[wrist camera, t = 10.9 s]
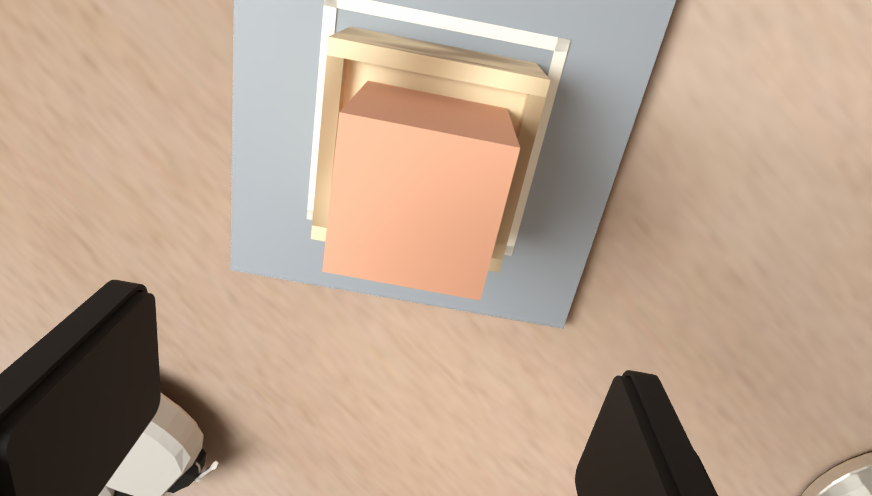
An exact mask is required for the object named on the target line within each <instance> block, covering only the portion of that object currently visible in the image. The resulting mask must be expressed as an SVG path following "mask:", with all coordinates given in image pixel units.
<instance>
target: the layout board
mask: <svg viewBox="0 0 872 496" xmlns="http://www.w3.org/2000/svg"><path fill="white" fill-rule="evenodd" d="M675 2H676V0H234V40H233V119H232V198H231V270H232V271H238V272H243V273H249V274H255V275H260V276H266V277H272V278H277V279H283V280H289V281H295V282H300V283H306V284H312V285H317V286H323V287H329V288H334V289H340V290H346V291H352V292H357V293H363V294H369V295H374V296H380V297H386V298H391V299H397V300H403V301H409V302H414V303H420V304H426V305H431V306H437V307H443V308H448V309H454V310H460V311H466V312H471V313H477V314H483V315H488V316H494V317H500V318H505V319H511V320H517V321H523V322H528V323H534V324H540V325H545V326H551V327H557V328H562V329H563V328H564V325H565V322H566V319H567V316H568V313H569V310H570V307H571V304H572V302H573V299H574V296H575V293H576V290H577V287H578V284H579V281H580V278H581V275H582V272H583V270H584V267H585V264H586V261H587V258H588V255H589V252H590V249H591V246H592V243H593V240H594V238H595V235H596V232H597V229H598V226H599V223H600V220H601V217H602V214H603V211H604V209H605V206H606V203H607V200H608V197H609V194H610V191H611V188H612V185H613V182H614V179H615V177H616V174H617V171H618V168H619V165H620V162H621V159H622V156H623V153H624V150H625V147H626V145H627V142H628V139H629V136H630V133H631V130H632V127H633V124H634V121H635V118H636V115H637V113H638V110H639V107H640V104H641V101H642V98H643V95H644V92H645V89H646V86H647V84H648V81H649V78H650V75H651V72H652V69H653V66H654V63H655V60H656V57H657V54H658V52H659V49H660V46H661V43H662V40H663V37H664V34H665V31H666V28H667V25H668V22H669V20H670V17H671V14H672V11H673V8H674V5H675ZM348 27H355V28H360V29H365V30H370V31H375V32H380V33H386V34H391V35H396V36H401V37H406V38H411V39H416V40H421V41H426V42H432V43H437V44H442V45H447V46H452V47H457V48H462V49H467V50H472V51H477V52H483V53H488V54H493V55H498V56H503V57H508V58H513V59H518V60H523V61H529V62H534V63H537V65H538V66H539V67H540V68H541V69H542V70H543V72H544V73H545V74H546V75H547V76H548V78H549V79H550V84H549V88H548V92H547V95H546V99H545V103H544V107H543V111H542V114H541V118H540V122H539V126H538V129H537V133H536V137H535V141H534V144H533V148H532V152H531V156H530V159H529V163H528V167H527V171H526V174H525V178H524V182H523V186H522V190H521V193H520V197H519V201H518V205H517V208H516V212H515V216H514V220H513V223H512V227H511V231H510V235H509V238H508V242H507V246H506V250H505V253H504V257H503V261H502V265H501V269H500V272H493V271H488V273H487V276H486V280H485V284H484V288H483V292H482V295H481V299H480V300H474V299H469V298H463V297H458V296H453V295H447V294H442V293H436V292H431V291H425V290H420V289H414V288H409V287H403V286H398V285H393V284H387V283H382V282H376V281H371V280H365V279H360V278H354V277H349V276H344V275H338V274H333V273H327V272H322V268H323V259H324V250H325V241H320V240H314V239H311V231H312V219H313V207H314V196H315V184H316V172H317V161H318V149H319V137H320V126H321V114H322V102H323V90H324V79H325V67H326V55H327V44H328V36H331V35H333V34H335V33H337V32H339V31H342V30H344V29H346V28H348Z"/></svg>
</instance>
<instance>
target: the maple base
mask: <svg viewBox="0 0 872 496" xmlns="http://www.w3.org/2000/svg"><path fill="white" fill-rule="evenodd" d="M367 81H373V82H378V83H383V84H388V85H393V86H398V87H403V88H408V89H413V90H418V91H423V92H428V93H433V94H438V95H443V96H448V97H453V98H458V99H463V100H468V101H473V102H478V103H483V104H488V105H493V106H498V107H503V108H507V110H508V113H509V116H510V119H511V122H512V125H513V128H514V131H515V133H516V136H517V139H518V142H519V145H520V151H519V155H518V159H517V163H516V167H515V170H514V174H513V178H512V182H511V185H510V189H509V193H508V197H507V201H506V204H505V208H504V212H503V216H502V220H501V223H500V227H499V231H498V235H497V239H496V242H495V246H494V250H493V254H492V257H491V261H490V265H489V269H488V271H493V272H500V269H501V265H502V261H503V257H504V253H505V250H506V246H507V242H508V238H509V235H510V231H511V227H512V223H513V220H514V216H515V212H516V208H517V205H518V201H519V197H520V193H521V190H522V186H523V182H524V178H525V174H526V171H527V167H528V163H529V159H530V156H531V152H532V148H533V144H534V141H535V137H536V133H537V129H538V126H539V122H540V118H541V114H542V111H543V107H544V103H545V99H546V95H547V92H548V88H549V84H550V79H549V78H548V76H547V75H546V74H545V73H544V72H543V70H542V69H541V68H540V67H539V66H538V65H537V63H534V62H529V61H523V60H518V59H513V58H508V57H503V56H498V55H493V54H488V53H483V52H477V51H472V50H467V49H462V48H457V47H452V46H447V45H442V44H437V43H432V42H426V41H421V40H416V39H411V38H406V37H401V36H396V35H391V34H386V33H380V32H375V31H370V30H365V29H360V28H355V27H348V28H346V29H344V30H342V31H339V32H337V33H335V34H333V35H331V36H328V44H327V55H326V67H325V79H324V90H323V102H322V114H321V126H320V137H319V149H318V161H317V172H316V184H315V196H314V207H313V219H312V231H311V239H314V240H320V241H325V240H326V231H327V222H328V213H329V203H330V194H331V185H332V175H333V166H334V157H335V148H336V138H337V129H338V120H339V112H340V111H341V110H342V109H343V108H344V106H345V105H346V104H347V103H348V102H349V101H350V100H351V99H352V98H353V96H354V95H355V94H356V93H357V92H358V91H359V90H360V89H361V87H362V86H363V85H364V84H365V83H366V82H367Z"/></svg>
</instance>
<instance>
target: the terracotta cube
mask: <svg viewBox="0 0 872 496" xmlns="http://www.w3.org/2000/svg"><path fill="white" fill-rule="evenodd" d="M519 151H520V145H519V142H518V139H517V136H516V133H515V131H514V128H513V125H512V122H511V119H510V116H509V113H508V110H507V108H503V107H498V106H493V105H488V104H483V103H478V102H473V101H468V100H463V99H458V98H453V97H448V96H443V95H438V94H433V93H428V92H423V91H418V90H413V89H408V88H403V87H398V86H393V85H388V84H383V83H378V82H373V81H367V82H366V83H365V84H364V85H363V86H362V87H361V89H360V90H359V91H358V92H357V93H356V94H355V95H354V96H353V98H352V99H351V100H350V101H349V102H348V103H347V104H346V105H345V106H344V108H343V109H342V110H341V111H340V112H339V120H338V129H337V138H336V148H335V157H334V166H333V175H332V185H331V194H330V203H329V213H328V222H327V231H326V240H325V250H324V259H323V268H322V272H327V273H333V274H338V275H344V276H349V277H354V278H360V279H365V280H371V281H376V282H382V283H387V284H393V285H398V286H403V287H409V288H414V289H420V290H425V291H431V292H436V293H442V294H447V295H453V296H458V297H463V298H469V299H474V300H480V299H481V295H482V292H483V288H484V284H485V280H486V276H487V273H488V269H489V265H490V261H491V257H492V254H493V250H494V246H495V242H496V239H497V235H498V231H499V227H500V223H501V220H502V216H503V212H504V208H505V204H506V201H507V197H508V193H509V189H510V185H511V182H512V178H513V174H514V170H515V167H516V163H517V159H518V155H519Z"/></svg>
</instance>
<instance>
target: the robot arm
mask: <svg viewBox="0 0 872 496" xmlns="http://www.w3.org/2000/svg"><path fill="white" fill-rule="evenodd" d="M160 400H161V392H160V375H159V357H158V340H157V323H156V306H155V297H154V295H153V294H151V293H148V292H147V289H146V287H145V286H144V285H142V284H137V283H131V282H125V281H120V280H111V281H109V282H108V283H106V284H105V285H104V286H103V287H102V288H101V289H99V290H98V291H97V292H96V293H95V294H94V295H92V296H91V297H90V298H89V299H88V300H86V301H85V302H84V303H83V304H82V305H81V306H79V307H78V308H77V309H76V310H75V311H74V312H72V313H71V314H70V315H69V316H68V317H67V318H65V319H64V320H63V321H62V322H61V323H59V324H58V325H57V326H56V327H55V328H54V329H52V330H51V331H50V332H49V333H48V334H47V335H45V336H44V337H43V338H42V339H41V340H40V341H38V342H37V343H36V344H35V345H34V346H33V347H31V348H30V349H29V350H28V351H27V352H25V353H24V354H23V355H22V356H21V357H20V358H18V359H17V360H16V361H15V362H14V363H13V364H11V365H10V366H9V367H8V368H7V369H6V370H4V371H3V372H2V373H1V374H0V496H98V495H99V494H100V493H101V491H102V490H103V488H104V487H105V486H106V484H107V483H108V481H109V480H110V479H111V477H112V476H113V474H114V473H115V471H116V470H117V469H118V467H119V466H120V464H121V463H122V462H123V460H124V459H125V457H126V456H127V454H128V453H129V452H130V450H131V449H132V447H133V446H134V445H135V443H136V442H137V440H138V439H139V438H140V436H141V435H142V433H143V432H144V430H145V429H146V428H147V426H148V425H149V423H150V422H151V421H152V419H153V418H154V416H155V415H156V413H157V411H158V408H159V405H160ZM575 484H576V490H577V494H578V496H718V495H717V493H716V491H715V488H714V486H713V484H712V482H711V480H710V478H709V476H708V474H707V472H706V470H705V468H704V466H703V464H702V462H701V460H700V458H699V456H698V455H697V453H696V452H695V451H694V449H693V447H692V445H691V443H690V441H689V439H688V437H687V435H686V433H685V431H684V429H683V427H682V425H681V423H680V421H679V419H678V416H677V414H676V412H675V410H674V408H673V406H672V404H671V402H670V400H669V398H668V396H667V394H666V392H665V390H664V388H663V386H662V384H661V382H660V380H659V378H658V377H657V376H656V375H653V374H648V373H642V372H636V371H631V370H628V371H626V372H625V373H624V374H623V375H622V376H616V377H615V378H614V379H613V381H612V384H611V386H610V388H609V391H608V393H607V396H606V398H605V401H604V403H603V405H602V408H601V410H600V413H599V415H598V418H597V420H596V422H595V425H594V427H593V430H592V432H591V435H590V437H589V439H588V442H587V444H586V447H585V449H584V451H583V454H582V456H581V459H580V461H579V464H578V466H577V469H576V475H575ZM801 496H872V452H870V453H866V454H864V455H861V456H858V457H855V458H852V459H850V460H847V461H845V462H843V463H841V464H839V465H837V466H835V467H833V468H832V469H830V470H829V471H827V472H826V473H824V474H823V475H821V476H820V477H818V478H817V479H816V480H815V481H814V482H813V483H812V484H811V485H810V486H809V487H808V488H807V489H806V490H805V491H804V493H803V494H802V495H801Z"/></svg>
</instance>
